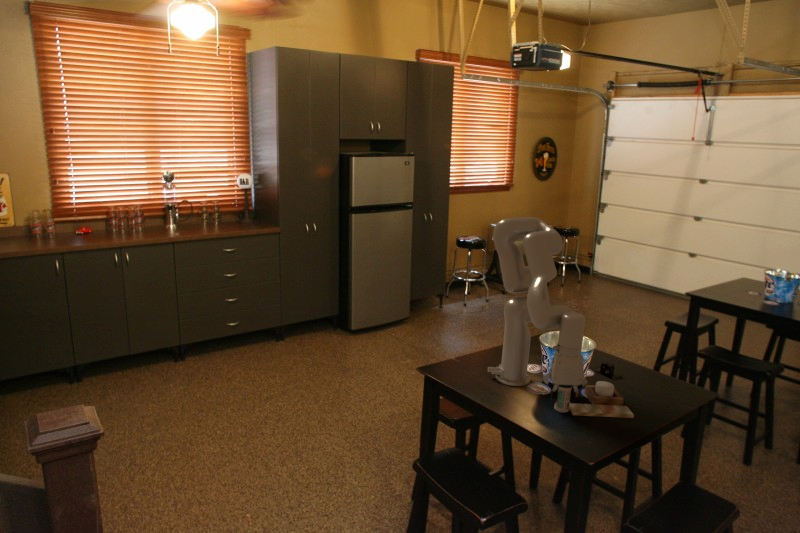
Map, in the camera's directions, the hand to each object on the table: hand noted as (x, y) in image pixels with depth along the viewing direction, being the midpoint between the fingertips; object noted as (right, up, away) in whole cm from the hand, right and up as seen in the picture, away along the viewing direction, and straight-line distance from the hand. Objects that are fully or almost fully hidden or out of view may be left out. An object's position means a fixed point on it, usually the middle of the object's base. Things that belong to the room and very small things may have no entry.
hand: (562, 400), depth 195 cm
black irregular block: (+26, +2, +32) cm, 42 cm away
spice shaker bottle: (0, -4, +1) cm, 4 cm away
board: (+13, -4, +1) cm, 13 cm away
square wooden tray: (+17, -2, +10) cm, 20 cm away
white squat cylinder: (+17, -1, +10) cm, 19 cm away
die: (+6, -1, +12) cm, 13 cm away
